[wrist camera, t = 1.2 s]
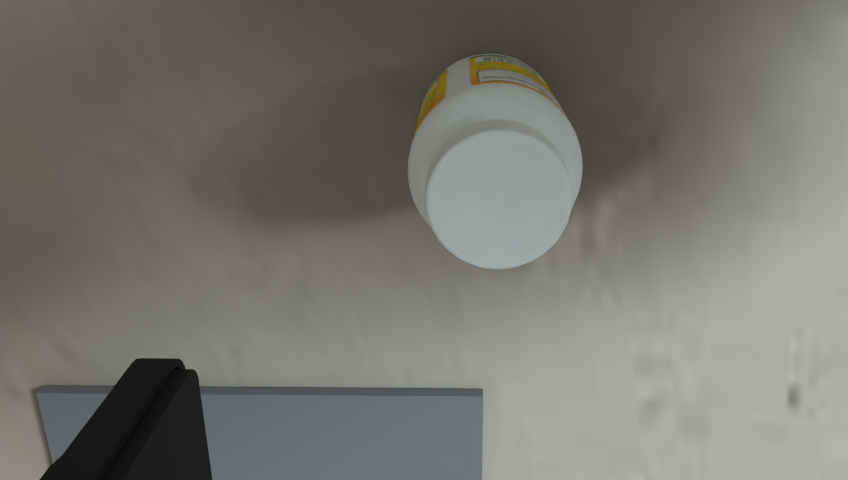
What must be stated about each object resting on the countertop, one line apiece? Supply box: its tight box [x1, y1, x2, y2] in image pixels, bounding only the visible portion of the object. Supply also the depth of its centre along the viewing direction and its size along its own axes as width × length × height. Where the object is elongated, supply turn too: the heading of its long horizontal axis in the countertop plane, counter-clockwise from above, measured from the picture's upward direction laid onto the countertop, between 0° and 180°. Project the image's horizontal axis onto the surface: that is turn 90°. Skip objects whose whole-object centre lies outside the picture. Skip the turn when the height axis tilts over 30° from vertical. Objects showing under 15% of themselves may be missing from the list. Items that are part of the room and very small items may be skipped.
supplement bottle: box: [408, 54, 583, 269], centre depth 25 cm, size 5×5×10 cm
